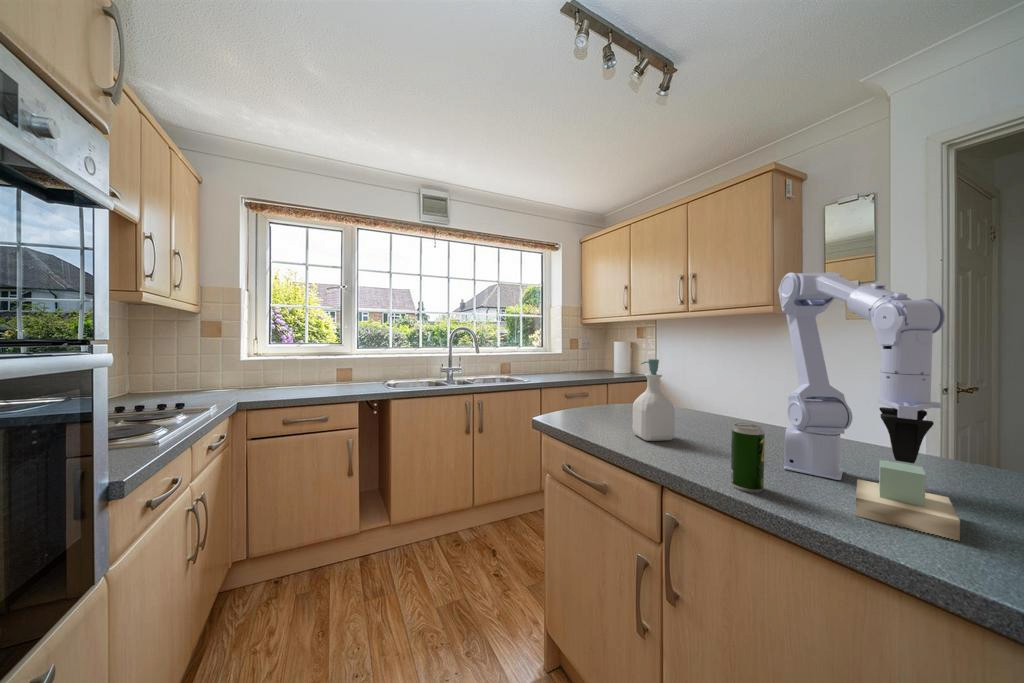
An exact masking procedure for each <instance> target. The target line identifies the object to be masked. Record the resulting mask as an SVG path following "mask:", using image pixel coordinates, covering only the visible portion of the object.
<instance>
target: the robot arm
mask: <svg viewBox="0 0 1024 683" xmlns="http://www.w3.org/2000/svg"><path fill="white" fill-rule="evenodd" d="M778 296H779V301H780V307H781V311H782V313H784V314H785V315H786V322H787V327H788V330H789V331H788V332H789V336H790V342H791V347H792V353H793V358H794V363H795V368H796V374H797V380H798V384H799V385H798V387H797V388H795V389H794V390H793V391H792V392H790V394H788V395H787V402H788V404H787V405H788V406H787V411H786V412H787V417H788V418H787V419H788V421H789V422H790V423H791V424H792V426H793V427H792V426H787V427H786V429H785V434H784V435H785V436H784V455H783V458H784V462H783V463H784V466H783V469H785V470H786V471H792V472H798V473H803V474H807V475H811V476H812V475H813V476H816V477H822V478H826V479H832V480H836V481H841V480H842V476H843V474H844V473H843V472H844V470H843V468H841V435H842V434H843V435H845V430H848V429H849V428H850V427H851V425H852V422H853V412H852V409H851V408H850V406H849V405H848V403H847V400H846V398H845V394H844V393H843V392H841V391H840V390H838V389H836V388H835V387H834V386H832V385H831V384H830V380H829V375H828V370H827V367H826V366H827V365H826V361H825V357H824V351H823V348H822V343H821V338H820V334H819V329H818V323H817V320H816V318H817V316H818V315H820V314H823V313H824V312H825V311H826V310H827V309H828V308H829V306H830V305H831V304H832V303H833V302H834V300H839V301H841V302H844V303H846V307H847V308H848V310H849V311H850V312H851V313H853V314H855V316H856V315H857V316H859V317H860V318H862V319H864V320H866V321H869V322H871V325H872V327H873V329H874V331H875V333H876V341H877V342H878V345H881V346H880V347H881V348H880V351H881V352H880V384H879V385H880V386H879V397H878V398H877V400H878V401H877V402H878V404H881V405H884V406H887V407H884V406H883V407H881V406H880V407H879V411H880V418H881V422H883V424H884V426H885V427H886V429H887V433H888V435H889V439H890V441H889V442H890V445H891V450H892V454H893V458H894V460H895V462H900V463H901V462H902V463H906V464H907V463H909V464H915V463H916V461H917V459H918V455H919V452H920V449H921V445H922V442H923V440H924V438H925V436H926V434H927V433H928V432H929V431H930V429H931V428H932V427H933V426H934V422H933V420H924V418H926V416H927V415H928V411H927V410H928V409H932V408H935V409H942V408H943V403H941V402H939V401H938V402H937V401H932V400H931V398H932V369H933V368H932V367H933V366H932V365H933V336H934V335H933V334H935V333H937V332H938V331H940V330H941V329H942V328H943V326H944V324H945V320H946V313H945V309H944V307H943V306H942V305H941V304H940V303H938V302H937V301H935V300H934V299H932V298H922V299H912V298H910V297H909V296H908V294H907V293H904V292H894V291H891V290H888V289H886V285H885V284H883V283H871V284H865V285H863V286H860V285H858V284H856V283H855V282H852V281H850V280H848V279H846V278H844V277H843V274H842V273H837V272H834V271H829V272H801V273H800V272H796V273H795V272H788V273H786V274H785V275H784V276H783V277H782V279H781V281H780V285H779V286H778Z"/></svg>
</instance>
